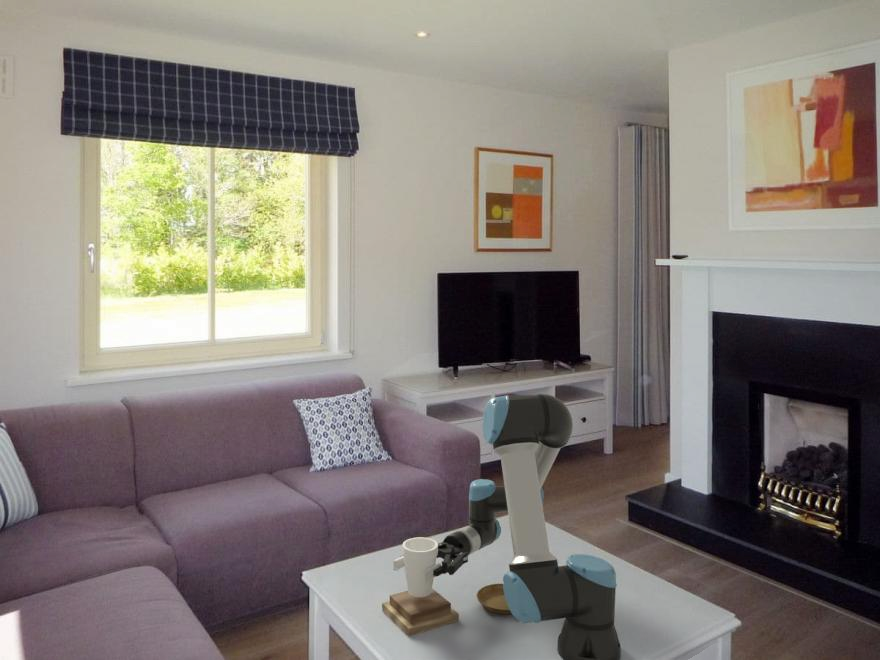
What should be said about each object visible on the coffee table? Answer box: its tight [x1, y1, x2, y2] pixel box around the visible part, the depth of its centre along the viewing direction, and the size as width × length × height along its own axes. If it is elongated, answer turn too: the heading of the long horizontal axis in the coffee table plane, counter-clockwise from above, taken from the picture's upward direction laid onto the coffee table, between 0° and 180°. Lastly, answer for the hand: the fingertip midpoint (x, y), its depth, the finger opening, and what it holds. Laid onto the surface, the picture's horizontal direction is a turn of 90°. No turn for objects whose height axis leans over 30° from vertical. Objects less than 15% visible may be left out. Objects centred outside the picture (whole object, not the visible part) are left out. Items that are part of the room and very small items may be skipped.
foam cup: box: [401, 536, 439, 597], centre depth 192 cm, size 10×9×13 cm
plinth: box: [381, 588, 460, 637], centre depth 194 cm, size 15×15×4 cm
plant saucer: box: [476, 583, 512, 615], centre depth 200 cm, size 15×15×3 cm
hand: (408, 571), depth 189 cm, fingers closed on foam cup, 9 cm apart
